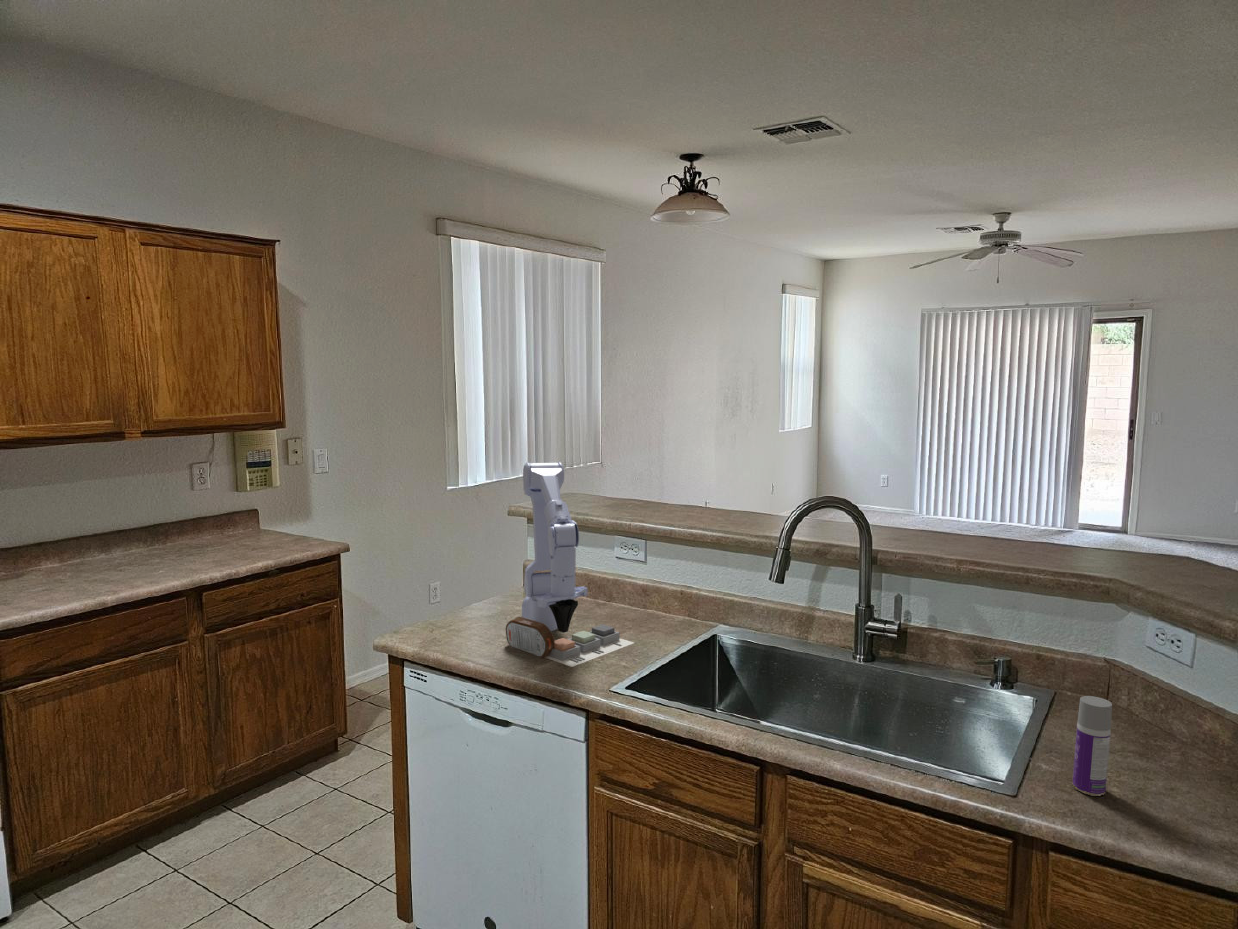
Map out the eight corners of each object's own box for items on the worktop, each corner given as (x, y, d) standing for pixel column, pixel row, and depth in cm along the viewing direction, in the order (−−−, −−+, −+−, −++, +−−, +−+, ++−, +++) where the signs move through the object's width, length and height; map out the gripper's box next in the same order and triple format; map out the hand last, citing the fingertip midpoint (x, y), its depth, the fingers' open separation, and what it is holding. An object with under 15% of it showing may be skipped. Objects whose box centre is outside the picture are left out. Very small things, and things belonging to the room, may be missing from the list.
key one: (591, 635, 194) (591, 627, 194) (602, 631, 197) (602, 624, 197) (603, 639, 191) (603, 631, 191) (614, 635, 194) (614, 627, 194)
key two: (571, 642, 189) (571, 634, 189) (583, 638, 192) (583, 630, 192) (583, 646, 186) (583, 638, 186) (595, 642, 189) (595, 634, 189)
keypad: (537, 658, 184) (537, 646, 184) (600, 636, 200) (600, 624, 200) (572, 671, 176) (572, 658, 176) (634, 646, 193) (635, 635, 193)
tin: (556, 659, 183) (554, 624, 182) (546, 663, 180) (544, 628, 179) (514, 646, 193) (512, 613, 192) (504, 650, 190) (502, 616, 189)
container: (1065, 782, 130) (1072, 696, 128) (1092, 781, 130) (1099, 695, 129) (1084, 797, 125) (1092, 707, 124) (1112, 796, 126) (1120, 707, 124)
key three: (550, 650, 184) (550, 642, 183) (562, 646, 187) (562, 637, 186) (562, 654, 181) (562, 646, 181) (574, 650, 184) (574, 641, 184)
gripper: (552, 583, 174) (552, 642, 175) (597, 571, 184) (596, 627, 186) (531, 577, 178) (531, 635, 180) (575, 566, 189) (575, 621, 191)
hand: (563, 631), depth 183 cm, fingers closed
